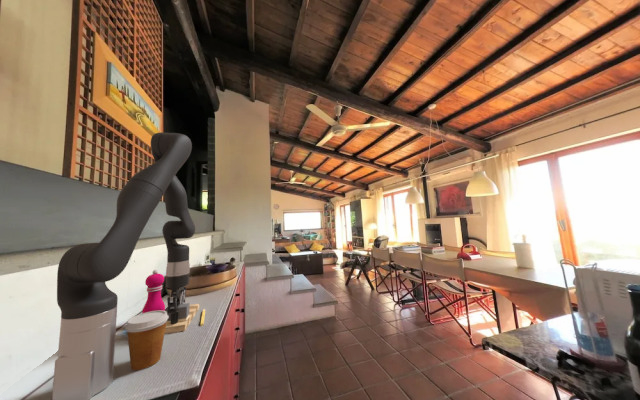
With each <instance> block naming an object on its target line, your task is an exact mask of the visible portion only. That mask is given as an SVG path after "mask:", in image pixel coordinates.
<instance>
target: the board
mask: <svg viewBox="0 0 640 400" xmlns="http://www.w3.org/2000/svg"><path fill="white" fill-rule="evenodd" d="M199 310H200V303H196V304H190V307H189V318H188V319H187V321H181V322H177V323H176V324H171V323H168V324H166V327H165V333H164V335H167V334H173V333H181V332H185V331H186V330H187V329H188V327H189V326H190V323H191V322H192V321H193V319H194V317H196V314H197V312H199Z"/></svg>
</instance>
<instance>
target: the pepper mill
mask: <svg viewBox="0 0 640 400" xmlns="http://www.w3.org/2000/svg"><path fill="white" fill-rule="evenodd" d="M144 282H145V285H146V286H147V288H146V292H147V298H146V301H145V303H144V305H143V308H142V311H141V314H143V313H146V312H151V311H159V310H162V311H165V309H166V305H165V302H164V300H163V299H162V289H163V283H164V282H165V276H164V275H163V274H161V273H159V270H158V269H153V270H152V274H150V275H148V276H147V277H146V279H145V281H144Z"/></svg>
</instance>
